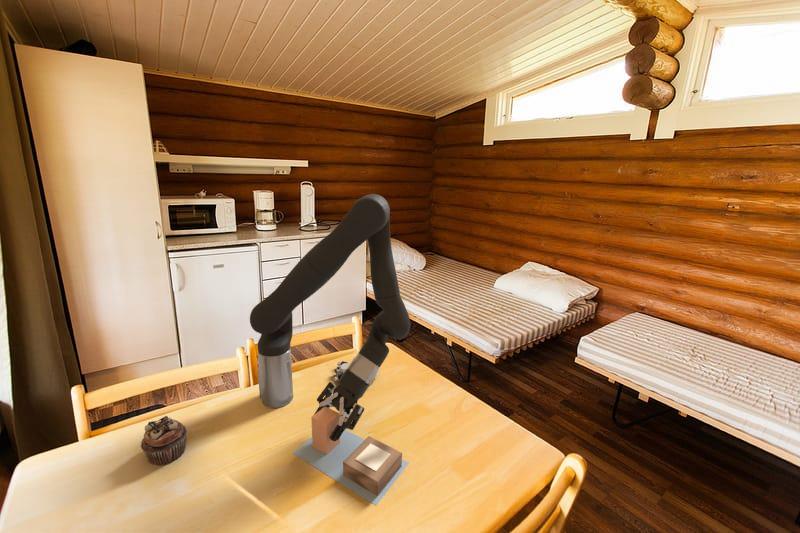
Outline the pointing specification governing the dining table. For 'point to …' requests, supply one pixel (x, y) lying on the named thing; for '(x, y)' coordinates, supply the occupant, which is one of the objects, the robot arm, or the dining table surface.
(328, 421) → the terracotta block
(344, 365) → the robot toy
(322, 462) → the board
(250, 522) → the dining table surface
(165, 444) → the cupcake
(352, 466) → the walnut foundation
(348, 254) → the robot arm
